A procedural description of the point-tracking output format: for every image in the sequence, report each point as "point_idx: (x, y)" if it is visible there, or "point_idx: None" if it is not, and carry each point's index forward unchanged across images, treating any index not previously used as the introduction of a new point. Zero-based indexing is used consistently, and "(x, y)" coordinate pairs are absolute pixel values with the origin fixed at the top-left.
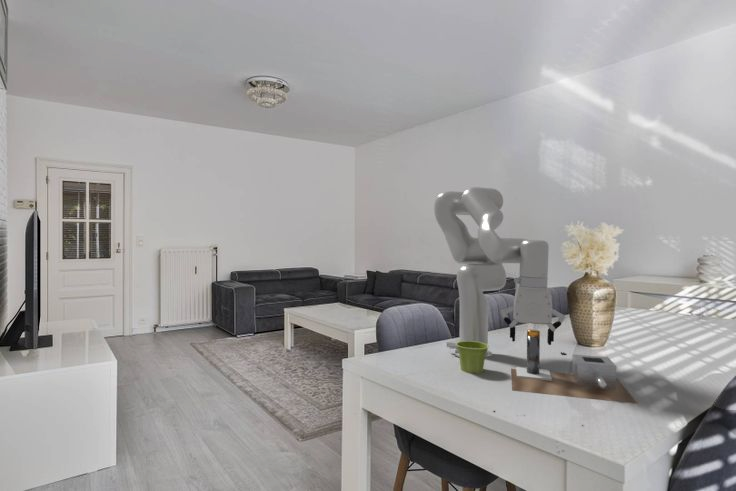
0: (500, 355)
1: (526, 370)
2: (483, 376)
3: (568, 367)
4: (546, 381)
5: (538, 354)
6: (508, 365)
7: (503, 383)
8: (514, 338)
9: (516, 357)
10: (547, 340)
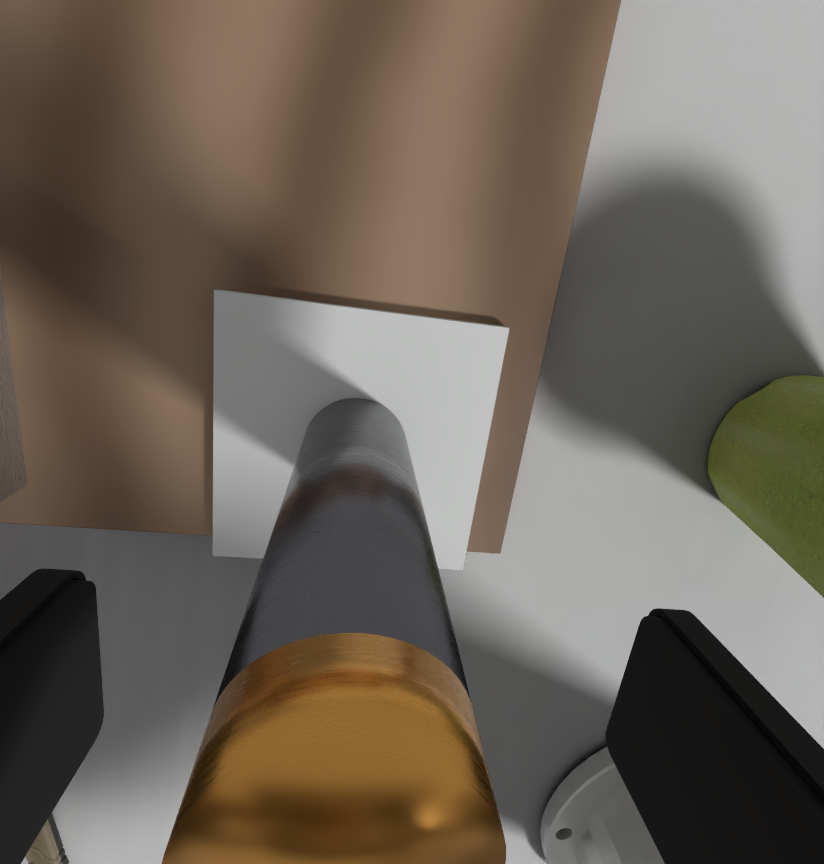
0: None
1: None
2: (711, 404)
3: None
4: (270, 258)
5: (295, 487)
6: (474, 684)
7: (609, 258)
8: (681, 644)
9: None
10: (86, 740)
